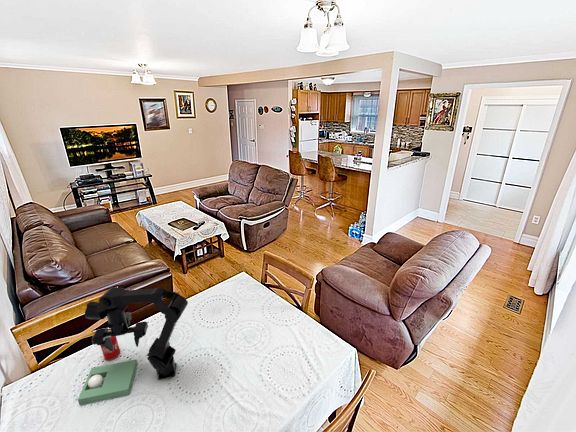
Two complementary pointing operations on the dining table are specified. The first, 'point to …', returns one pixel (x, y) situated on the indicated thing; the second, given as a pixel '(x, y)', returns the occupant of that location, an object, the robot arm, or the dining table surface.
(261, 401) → the dining table surface
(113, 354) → the beverage can
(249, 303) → the dining table surface
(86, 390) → the green shape sorter board
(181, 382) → the dining table surface
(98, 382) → the ball
